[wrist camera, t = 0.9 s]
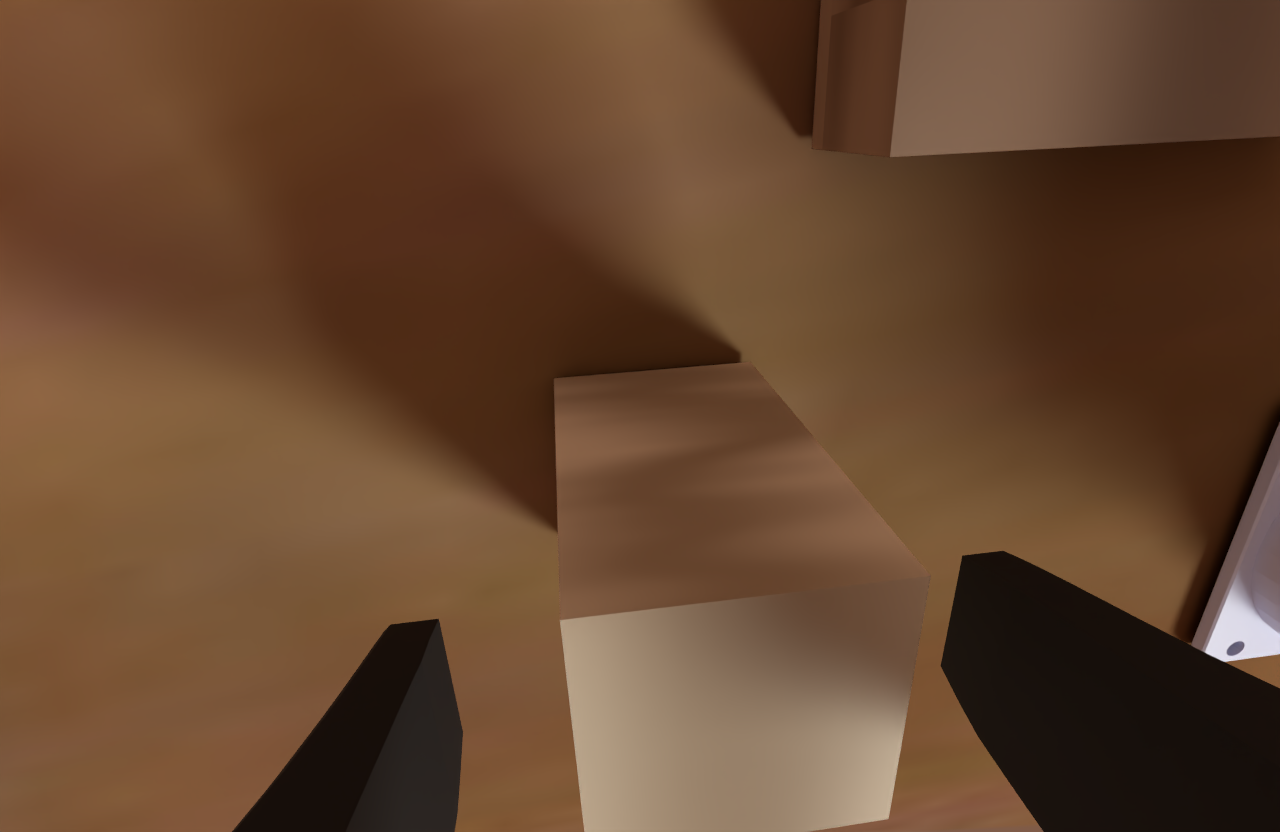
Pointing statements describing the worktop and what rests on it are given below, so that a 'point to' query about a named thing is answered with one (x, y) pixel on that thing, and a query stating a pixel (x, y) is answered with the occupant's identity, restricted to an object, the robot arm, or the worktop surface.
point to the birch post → (725, 610)
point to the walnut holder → (1043, 74)
